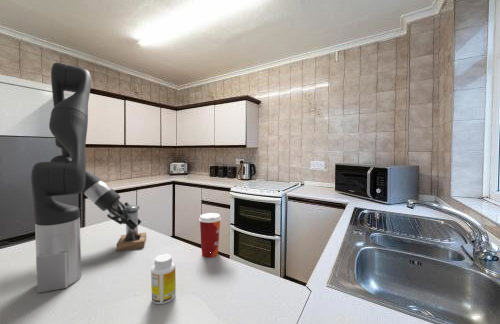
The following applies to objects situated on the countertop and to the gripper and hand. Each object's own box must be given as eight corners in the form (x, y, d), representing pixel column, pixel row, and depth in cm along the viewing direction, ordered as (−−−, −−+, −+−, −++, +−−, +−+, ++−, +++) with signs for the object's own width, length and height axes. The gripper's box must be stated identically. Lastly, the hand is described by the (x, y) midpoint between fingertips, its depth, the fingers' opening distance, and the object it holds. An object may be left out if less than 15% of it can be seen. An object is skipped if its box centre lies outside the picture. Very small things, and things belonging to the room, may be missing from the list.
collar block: (144, 247, 81) (143, 240, 81) (116, 251, 78) (116, 244, 78) (146, 238, 90) (146, 232, 89) (121, 241, 86) (121, 235, 86)
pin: (138, 241, 82) (138, 208, 82) (123, 243, 80) (122, 209, 80) (140, 236, 87) (140, 204, 86) (125, 238, 85) (125, 205, 85)
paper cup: (223, 257, 74) (223, 217, 74) (200, 261, 72) (200, 219, 71) (218, 247, 82) (218, 211, 81) (197, 251, 79) (197, 213, 78)
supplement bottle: (177, 289, 57) (177, 252, 56) (172, 304, 51) (172, 262, 51) (155, 291, 56) (155, 252, 56) (147, 306, 50) (147, 263, 50)
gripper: (100, 192, 74) (138, 225, 77) (118, 185, 88) (150, 213, 91) (84, 207, 74) (122, 240, 77) (104, 198, 88) (136, 226, 91)
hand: (137, 225), depth 84 cm, fingers closed on pin, 4 cm apart
